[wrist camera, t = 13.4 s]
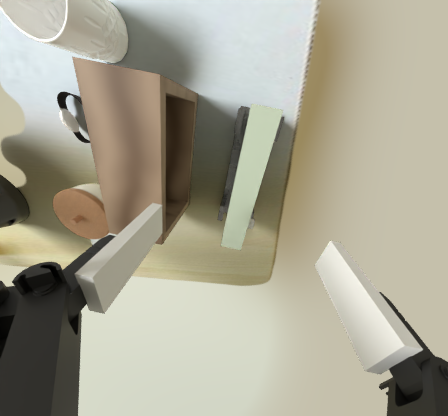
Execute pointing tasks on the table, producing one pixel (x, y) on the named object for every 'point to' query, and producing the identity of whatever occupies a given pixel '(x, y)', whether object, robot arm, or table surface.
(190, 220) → the table surface
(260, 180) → the door panel
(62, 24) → the white cup
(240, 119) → the clip rail
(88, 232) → the lidded jar
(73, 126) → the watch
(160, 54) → the table surface
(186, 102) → the cabinet
